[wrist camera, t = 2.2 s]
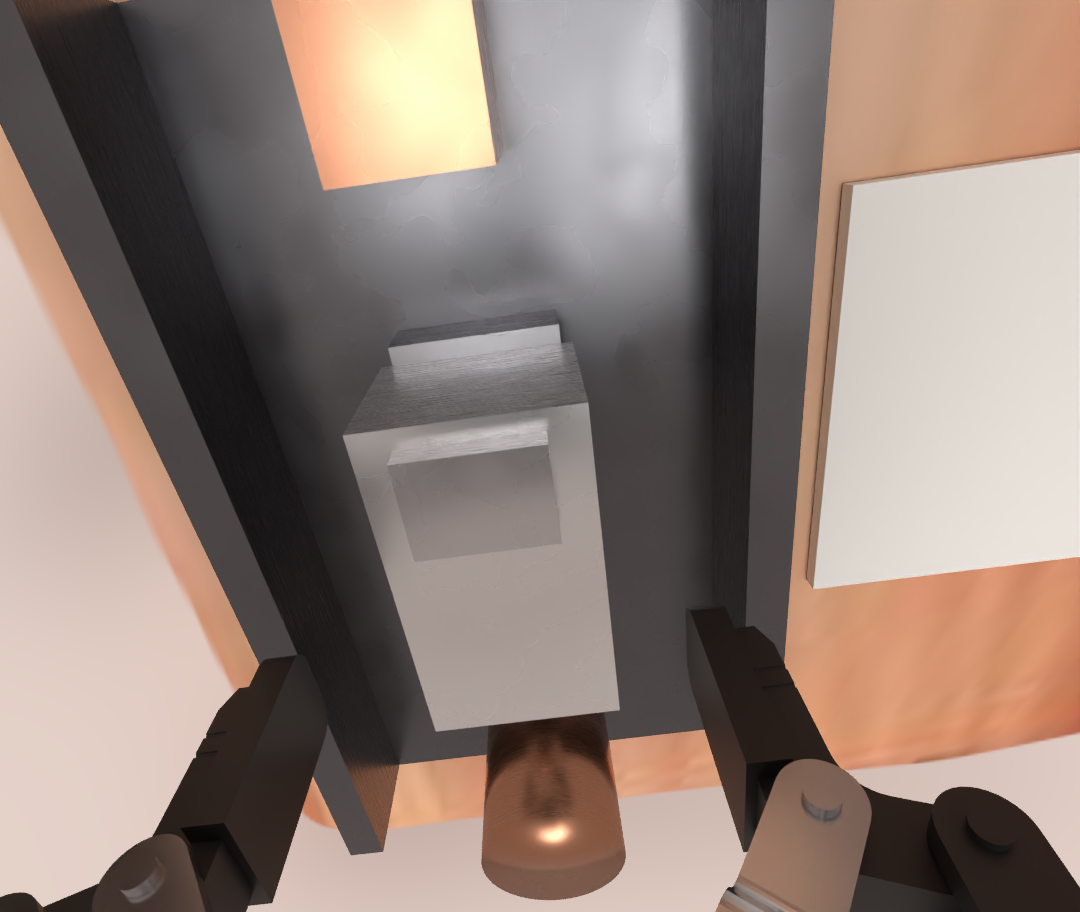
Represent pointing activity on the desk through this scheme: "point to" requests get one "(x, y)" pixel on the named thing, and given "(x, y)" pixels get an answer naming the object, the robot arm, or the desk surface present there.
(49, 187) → the dark grey tray
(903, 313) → the white mat
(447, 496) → the grey box
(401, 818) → the desk surface
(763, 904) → the robot arm
